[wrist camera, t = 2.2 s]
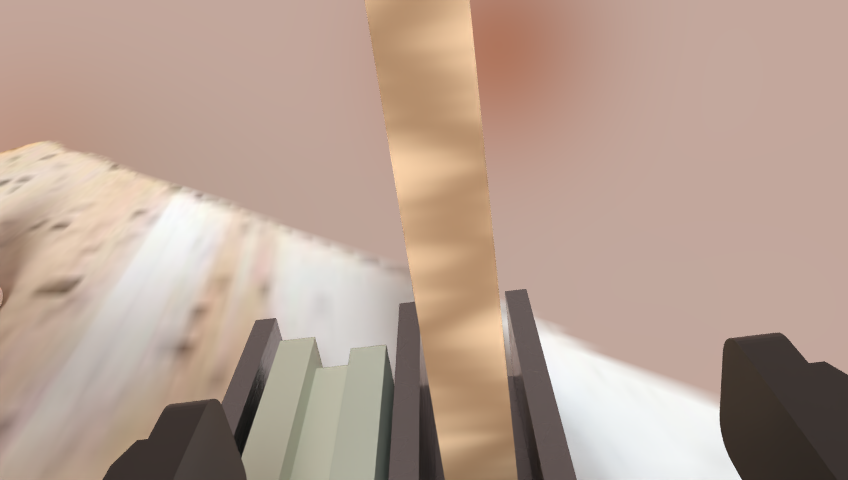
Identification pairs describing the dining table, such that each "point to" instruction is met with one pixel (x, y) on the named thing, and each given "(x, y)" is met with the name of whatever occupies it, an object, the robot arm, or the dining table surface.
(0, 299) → the milk bottle
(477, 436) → the oak block
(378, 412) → the pale green grooved block
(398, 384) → the sheet rack
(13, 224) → the dining table surface
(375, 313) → the dining table surface
